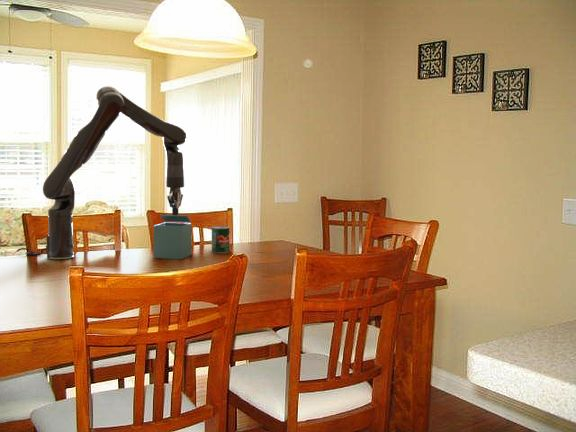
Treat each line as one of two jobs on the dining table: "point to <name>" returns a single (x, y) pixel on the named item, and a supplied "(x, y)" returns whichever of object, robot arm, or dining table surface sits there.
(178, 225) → the carton
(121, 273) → the dining table surface
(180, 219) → the flap
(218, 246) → the canned tomato
